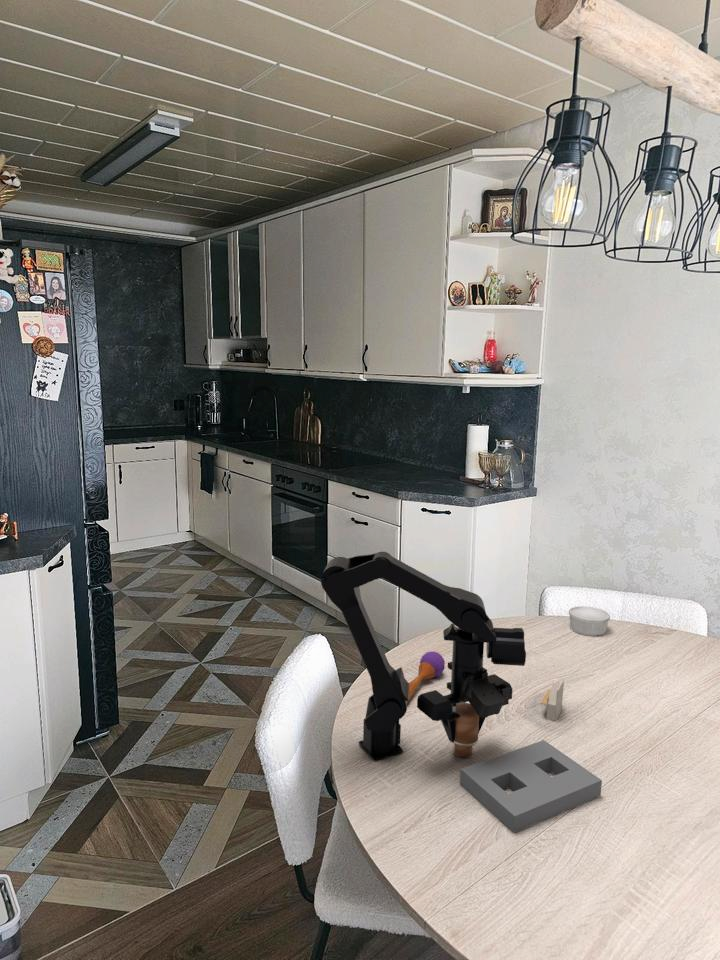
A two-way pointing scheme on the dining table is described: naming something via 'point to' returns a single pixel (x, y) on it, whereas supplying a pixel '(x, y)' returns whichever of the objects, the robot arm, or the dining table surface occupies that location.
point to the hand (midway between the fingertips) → (463, 737)
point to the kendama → (427, 669)
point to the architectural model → (553, 700)
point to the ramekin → (588, 620)
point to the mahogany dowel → (466, 730)
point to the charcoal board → (529, 784)
